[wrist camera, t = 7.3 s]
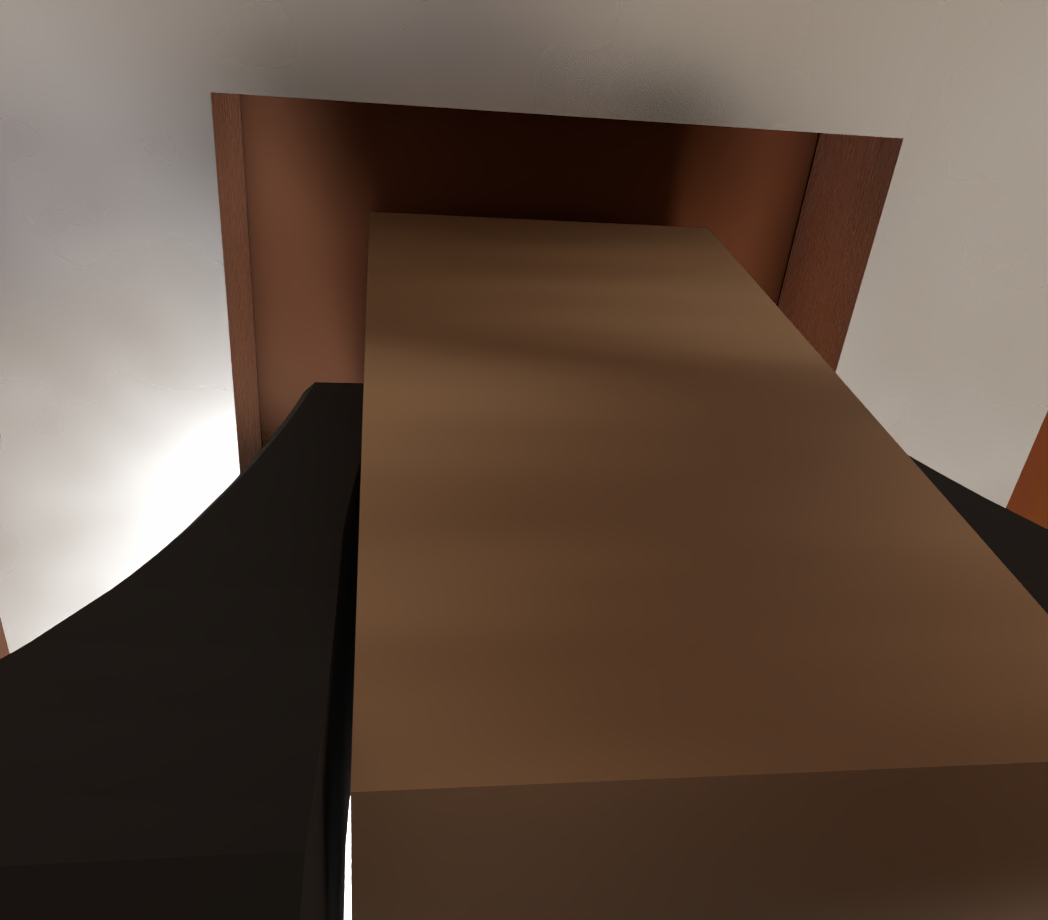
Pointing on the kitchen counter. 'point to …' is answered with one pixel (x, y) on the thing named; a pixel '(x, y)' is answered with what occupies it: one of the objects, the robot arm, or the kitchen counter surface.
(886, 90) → the white flat piece
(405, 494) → the walnut peg
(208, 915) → the robot arm
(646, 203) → the kitchen counter surface
